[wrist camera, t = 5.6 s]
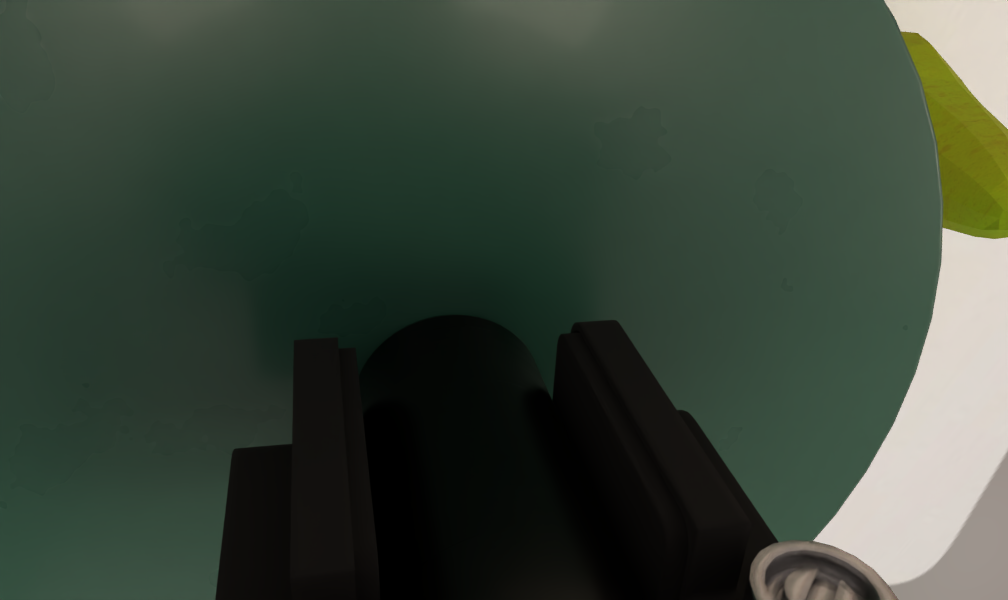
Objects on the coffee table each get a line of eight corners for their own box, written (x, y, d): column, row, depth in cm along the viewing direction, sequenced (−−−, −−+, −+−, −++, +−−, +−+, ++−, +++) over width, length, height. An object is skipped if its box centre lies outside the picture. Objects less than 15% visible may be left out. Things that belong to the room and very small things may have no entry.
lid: (-492, 37, 9) (-1997, 406, 3) (855, -440, 9) (1759, -901, 4) (199, 794, 17) (144, 1305, 11) (916, 511, 17) (1232, 853, 11)
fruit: (739, 33, 28) (996, 133, 18) (908, 6, 29) (1246, 86, 19) (735, 210, 31) (952, 383, 21) (887, 181, 32) (1169, 333, 22)
